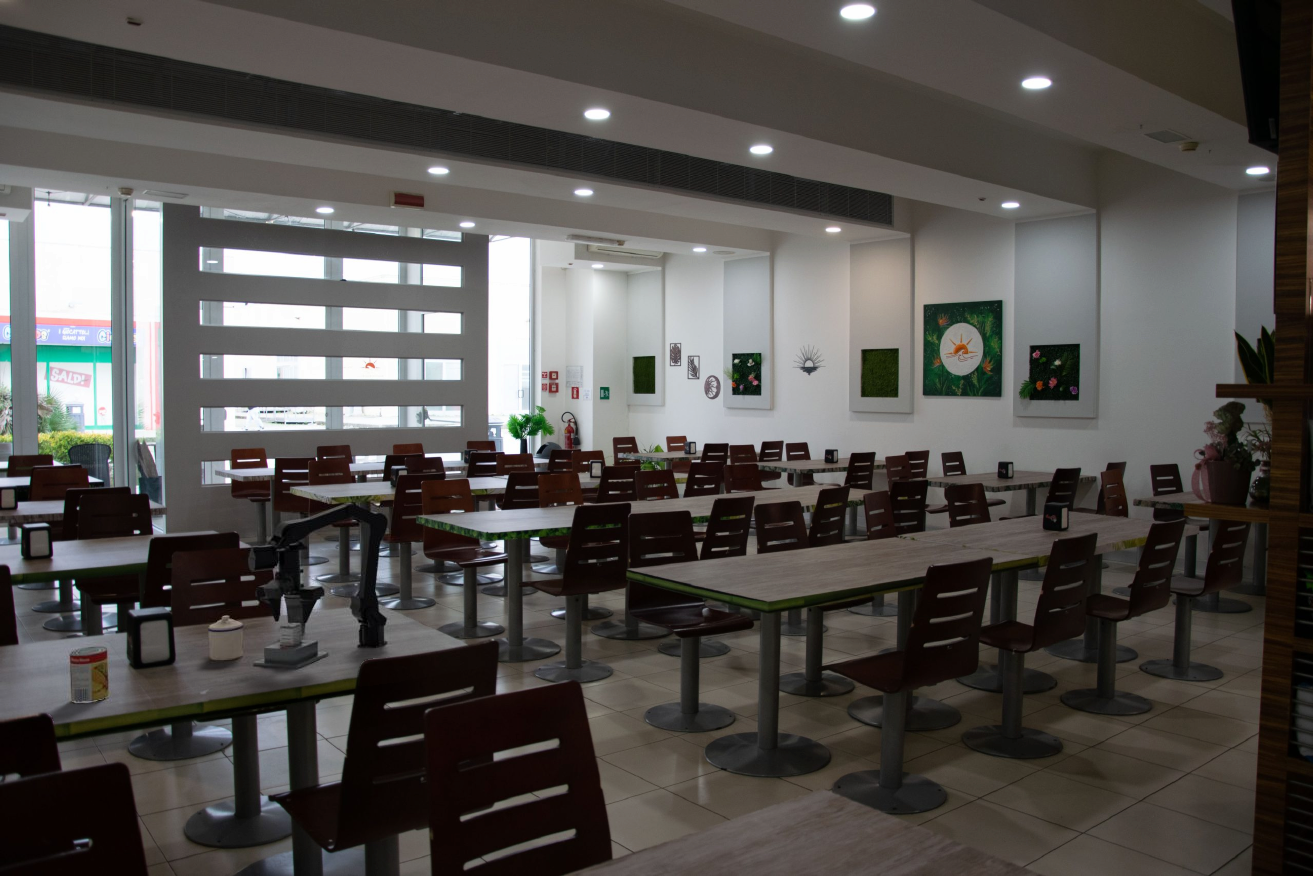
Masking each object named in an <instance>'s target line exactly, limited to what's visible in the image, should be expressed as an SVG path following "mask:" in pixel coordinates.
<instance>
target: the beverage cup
mask: <svg viewBox="0 0 1313 876" xmlns="http://www.w3.org/2000/svg"><path fill="white" fill-rule="evenodd" d="M303 588H306V586H305V585H304V587H302V588H301V589H303ZM292 592H293V591H292ZM283 599H284V603H285V607H286V608H285V609H286V617H287V623H300V624H301V627H302V634H304V633H305V631H306V624H307V623H303V612H302V604H301V603H300V600H302V598H301V597H300V596H299V595H283Z"/></svg>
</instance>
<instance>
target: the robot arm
mask: <svg viewBox="0 0 1313 876" xmlns="http://www.w3.org/2000/svg"><path fill="white" fill-rule="evenodd" d="M347 519H352V520H353V521H355V522H356V523H359V524H360V533H361V536H362V539H363V546H362V547H363V548H362V558H361V559H362V560H361V569H360V575H359V576H360V577H359V578H360V579H359V588H358V591H357V592H356V594H355V595H354V594H351V596H350V606H349V610H351V615H352V616H353V618H355V619H357V623H358V624H360V625H359V630H358V643H357V645H356V646H357V647H358V648H371V649H372V648H373V649H376V648H379V647H381V646H383V645H386V644H387V643H388V641H387V640H385V626H386V625H387V621H388V617H386V616H385V615H384V614H383V613H381V612H380V606H379V605H380V604H379V599H378V595H377V589H376V588H377V579H378V577H377V576H378V570H379V569H378V568H379V559H380V558H379V557H380V549H381V548H380V547H381V542H382V541H383V539H384V537H385V535H386V532H387V529H388V525H389V519H388V518H387V516H386V515H385V514H383V513H381V512H375V511H370V510H368V509H366V508H363V507H361V506H359V505H357V504H356V503H354V502H345V503H343V504H341V505H338V506H336V507H332V508H330V509H328V510H324V511H322V512H319V513H316V514H314V515H311V516H309V517H305V518H298V519H290V520H286V521H281V522H279V523H278V524H277V525H276V527H275V530H274V534H273V536H272V537H271V538H270V539H269V541H268V542H267V544H266V545H261V546H260V545H252V546H251V547H250V552H249V554H248V557H247V562H248V568H249V570H250V571H251V572H259V571H267V570H268V571H269V570H274V569H275V568H276V567H277V566H278V571H275V574H274V579H272V580H270V581H269V582H268V583H267V584H263V585H260V586H257V587H256V590H255V597H256V598H259V600H260V601H263V602H264V603H265V604H266V605H267V606H268V608H269V611H270V612H271V615H272V617H273V619H274V622H279V621H280V616H281V608H282V607H281V605H282V598H284V595H299V596H300V597H301V598H302V600H300V603H301V604H302V612H303V623H306V624H307V623H308V621H309V618H310V616H311V614H312V611H313V609H314V608H315V605H316V603H317V602H318V600H321V598H322V597H325V595H326V593H325V592H326V591H325V588H324V587H323V586H322V585H310V586H307V587H306V586H305V584H304V583H302V582H301V581H302V579H301V577H302V576H301V575H302V574H303V573H304V568H301V551H305V550H308V546H306V545H305V544H304V543H303V541H302V540H303V539H305V538H307V537H308V536H309V535H310V534H312V533H313V532H315V531H318V530H320V529H323V528H326V527H329V526H331V525H334V524H336V523H339V522H341V521H344V520H347ZM304 586H305V587H306V588H303V589H301V588H302V587H304ZM292 591H293V592H292Z"/></svg>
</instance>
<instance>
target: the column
mask: <svg viewBox="0 0 1313 876" xmlns="http://www.w3.org/2000/svg"><path fill="white" fill-rule="evenodd" d="M302 634H303V633H302V627H301V624H300V623H288V622H287V623H285V624H282V625H280V626H279V636H280V637H279V638H280V641H279V642H280V646H286V647H295V646H297V645H300V644H302V640H303V638H302V637H303V635H302Z"/></svg>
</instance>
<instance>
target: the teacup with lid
mask: <svg viewBox="0 0 1313 876" xmlns="http://www.w3.org/2000/svg"><path fill="white" fill-rule="evenodd" d="M243 627H244V625H243V623H242V622H241V621H237V620H235V619H232V618H230V615H223V616H222V617H221V619H219V620H217V622H214V623H212V624H210V625H209V626H208V629H207V630H208V634H207V637H208V641H209V642H208V643H209V659H210V660H212V661H217V662H218V661H229V660H235V659H239V658H241V657H242V656H244V643H243V642H244V637H243V636H244V635H243V634H244V633H243Z"/></svg>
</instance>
